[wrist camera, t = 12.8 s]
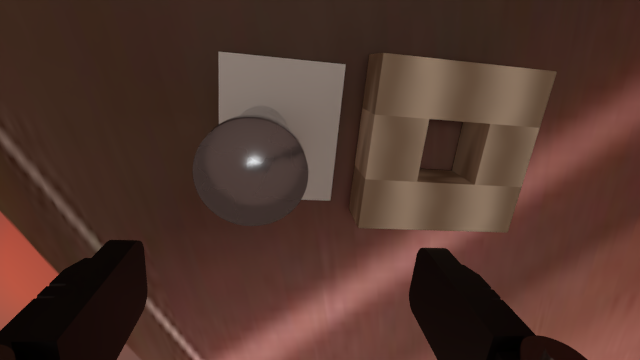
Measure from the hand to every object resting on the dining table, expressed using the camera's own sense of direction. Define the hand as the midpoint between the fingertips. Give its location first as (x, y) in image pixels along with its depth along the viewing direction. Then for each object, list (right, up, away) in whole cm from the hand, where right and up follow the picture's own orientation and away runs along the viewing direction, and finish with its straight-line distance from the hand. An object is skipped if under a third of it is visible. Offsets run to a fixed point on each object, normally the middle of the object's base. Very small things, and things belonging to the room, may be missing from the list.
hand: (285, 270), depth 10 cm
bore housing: (+11, +6, +21) cm, 25 cm away
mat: (-2, +7, +19) cm, 20 cm away
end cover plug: (-4, +7, +18) cm, 20 cm away
